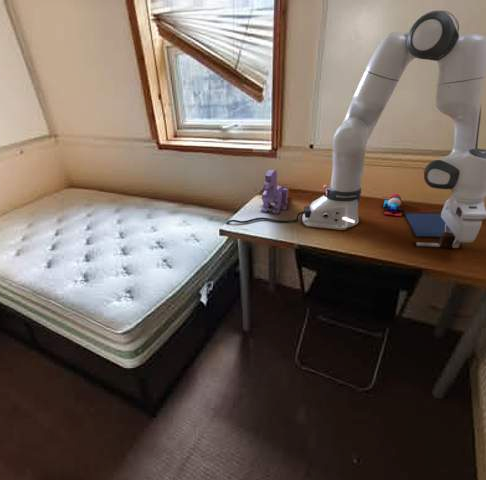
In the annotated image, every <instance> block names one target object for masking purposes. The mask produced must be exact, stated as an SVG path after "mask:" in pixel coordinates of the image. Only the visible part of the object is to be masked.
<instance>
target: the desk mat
mask: <svg viewBox="0 0 486 480" xmlns="http://www.w3.org/2000/svg"><path fill="white" fill-rule="evenodd" d="M404 217H405V218H406V220H407V221H408V223H409V225H410V227H411V229H412V231H413V232H414V233H413V234H415V236H416V238H434V239H435V238H436V239H438V238H439V239H440V236H441V233H442V232H445V222H444V221H443V219H442V218H441V213H411V212H410V213H407V212H405V213H404ZM451 232H452V231H451Z"/></svg>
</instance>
